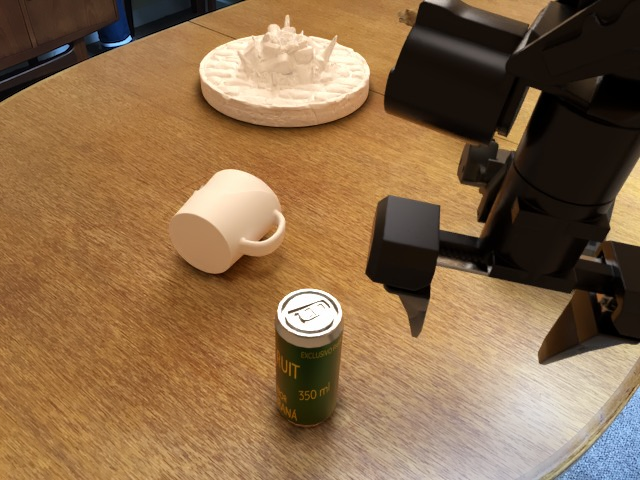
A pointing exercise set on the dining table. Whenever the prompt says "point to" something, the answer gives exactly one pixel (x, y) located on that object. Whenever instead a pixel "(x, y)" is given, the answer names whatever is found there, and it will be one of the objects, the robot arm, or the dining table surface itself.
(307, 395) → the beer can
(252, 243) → the mug
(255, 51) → the cake
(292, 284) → the dining table surface
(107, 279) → the dining table surface
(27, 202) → the dining table surface
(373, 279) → the robot arm
